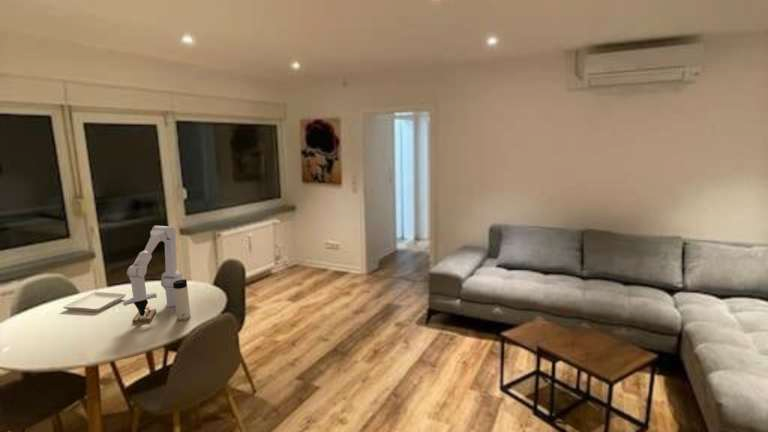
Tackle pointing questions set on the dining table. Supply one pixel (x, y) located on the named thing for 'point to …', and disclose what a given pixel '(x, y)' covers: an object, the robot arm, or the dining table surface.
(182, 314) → the travel mug
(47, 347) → the dining table surface
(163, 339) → the dining table surface
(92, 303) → the salad plate
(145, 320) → the panel
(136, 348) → the dining table surface
